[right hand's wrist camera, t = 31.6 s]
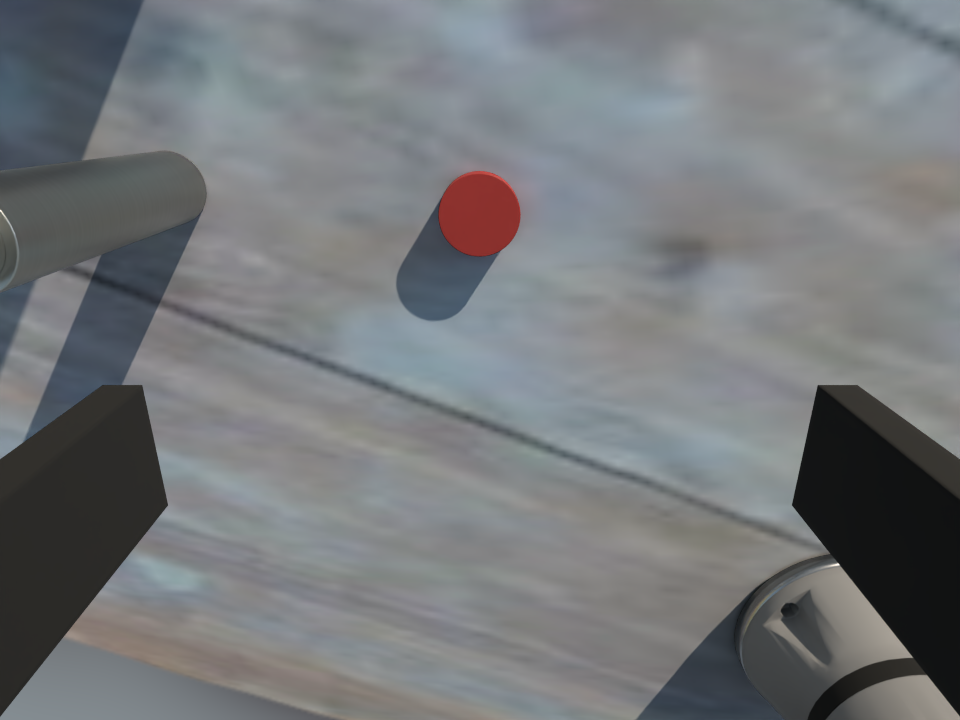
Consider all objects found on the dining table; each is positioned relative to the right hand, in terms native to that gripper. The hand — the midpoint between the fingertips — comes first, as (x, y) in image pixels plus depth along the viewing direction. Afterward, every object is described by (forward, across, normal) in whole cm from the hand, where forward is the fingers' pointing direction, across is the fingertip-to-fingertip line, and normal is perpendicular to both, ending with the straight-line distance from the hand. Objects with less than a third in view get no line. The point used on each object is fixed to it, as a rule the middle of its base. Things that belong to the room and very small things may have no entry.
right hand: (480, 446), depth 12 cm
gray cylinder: (+29, +19, -2) cm, 35 cm away
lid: (+28, 0, 0) cm, 28 cm away
